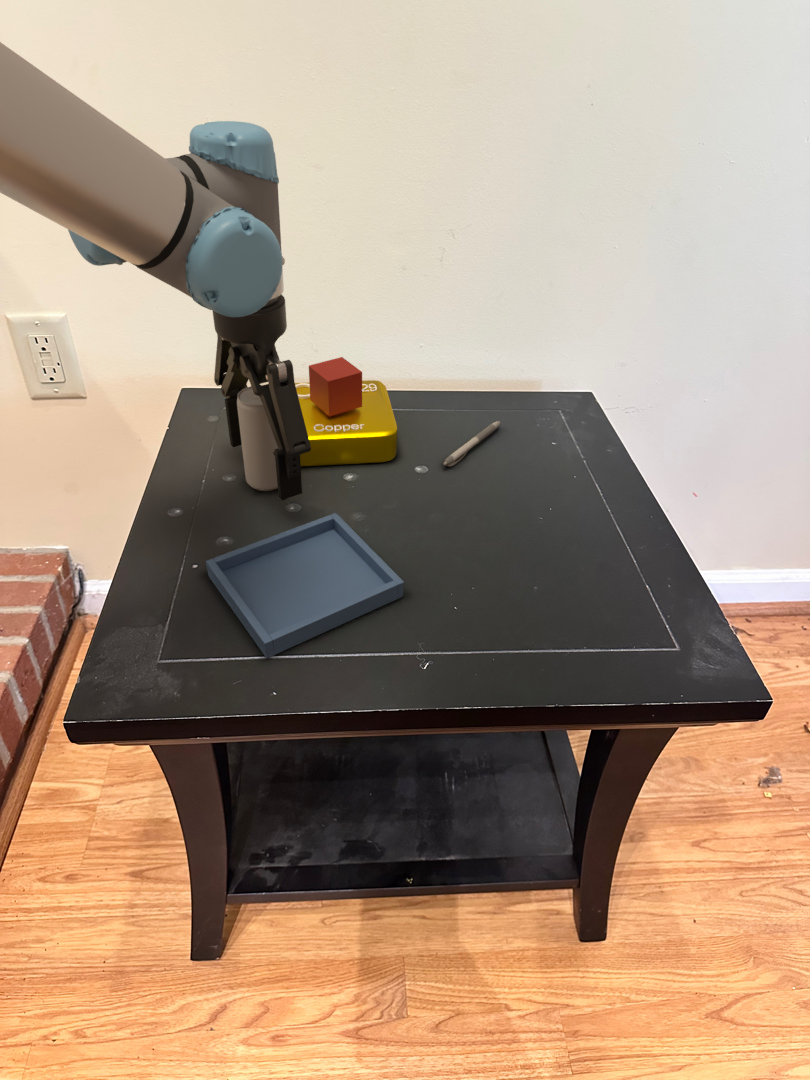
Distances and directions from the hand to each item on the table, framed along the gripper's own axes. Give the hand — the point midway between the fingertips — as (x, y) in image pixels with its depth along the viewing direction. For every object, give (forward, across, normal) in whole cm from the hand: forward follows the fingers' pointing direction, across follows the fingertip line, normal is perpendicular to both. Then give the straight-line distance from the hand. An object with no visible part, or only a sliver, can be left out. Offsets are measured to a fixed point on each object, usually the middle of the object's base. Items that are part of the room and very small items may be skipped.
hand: (265, 468), depth 89 cm
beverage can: (+2, 0, 0) cm, 2 cm away
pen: (+2, -7, -27) cm, 28 cm away
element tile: (+2, +5, -13) cm, 14 cm away
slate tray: (+2, -19, +5) cm, 20 cm away
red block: (-3, +5, -13) cm, 14 cm away
